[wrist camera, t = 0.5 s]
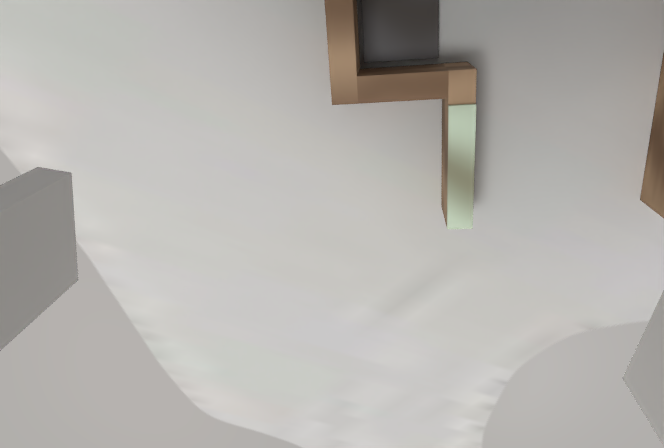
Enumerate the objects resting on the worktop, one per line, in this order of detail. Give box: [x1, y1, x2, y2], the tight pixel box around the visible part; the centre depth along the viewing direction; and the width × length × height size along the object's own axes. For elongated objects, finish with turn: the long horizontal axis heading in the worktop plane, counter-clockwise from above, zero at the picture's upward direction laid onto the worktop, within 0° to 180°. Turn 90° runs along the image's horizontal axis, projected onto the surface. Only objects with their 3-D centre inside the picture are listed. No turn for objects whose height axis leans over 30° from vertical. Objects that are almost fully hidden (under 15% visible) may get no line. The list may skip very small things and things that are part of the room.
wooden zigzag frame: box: [325, 0, 664, 229], centre depth 32 cm, size 22×22×4 cm
